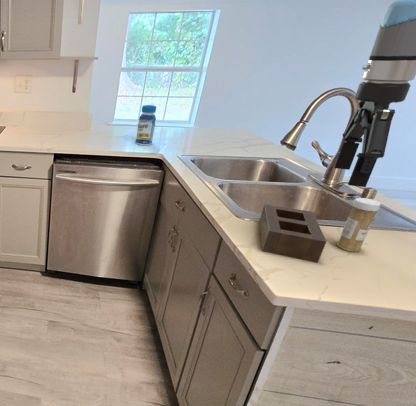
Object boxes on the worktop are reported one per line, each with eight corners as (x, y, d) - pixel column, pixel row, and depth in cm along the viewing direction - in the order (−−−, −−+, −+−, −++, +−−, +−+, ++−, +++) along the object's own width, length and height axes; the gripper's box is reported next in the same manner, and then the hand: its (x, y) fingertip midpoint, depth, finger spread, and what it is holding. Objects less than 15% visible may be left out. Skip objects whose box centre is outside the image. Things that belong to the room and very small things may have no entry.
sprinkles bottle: (362, 254, 92) (384, 205, 87) (337, 249, 94) (358, 202, 89) (357, 246, 96) (378, 199, 90) (334, 241, 98) (353, 195, 93)
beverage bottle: (155, 144, 195) (162, 106, 187) (142, 146, 193) (148, 107, 185) (144, 141, 202) (150, 104, 194) (131, 142, 200) (137, 105, 192)
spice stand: (306, 230, 104) (313, 211, 102) (317, 262, 89) (326, 241, 87) (258, 222, 110) (264, 204, 107) (262, 251, 95) (269, 230, 92)
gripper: (346, 76, 88) (317, 160, 97) (379, 87, 69) (339, 191, 77) (390, 76, 84) (356, 164, 93) (438, 88, 65) (389, 197, 74)
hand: (348, 176), depth 85 cm, fingers open, 13 cm apart
